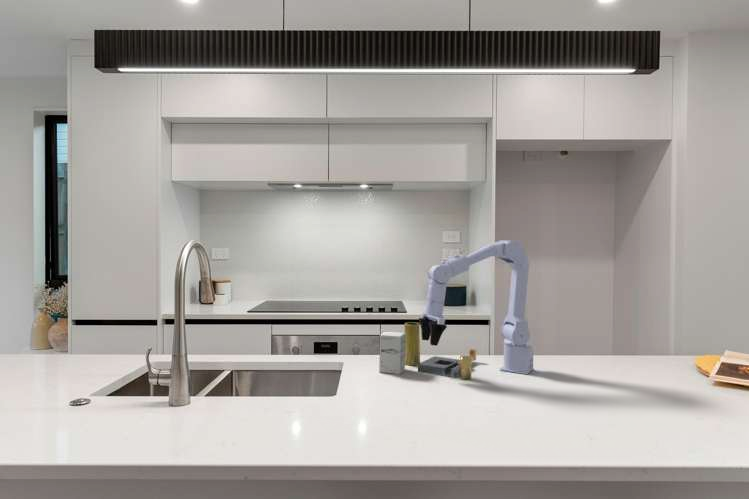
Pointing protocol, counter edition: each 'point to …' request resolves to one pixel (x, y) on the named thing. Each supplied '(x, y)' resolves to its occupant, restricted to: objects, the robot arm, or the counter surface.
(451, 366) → the socket
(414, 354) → the vase
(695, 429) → the counter surface
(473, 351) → the lock pin
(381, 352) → the supplement box
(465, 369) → the gold cylinder
